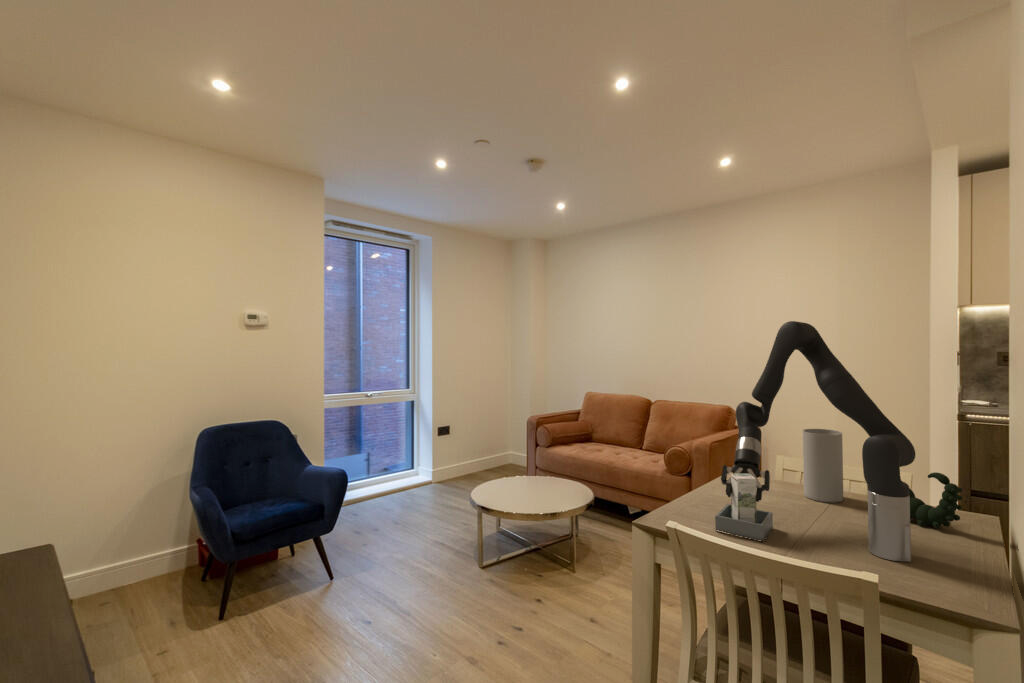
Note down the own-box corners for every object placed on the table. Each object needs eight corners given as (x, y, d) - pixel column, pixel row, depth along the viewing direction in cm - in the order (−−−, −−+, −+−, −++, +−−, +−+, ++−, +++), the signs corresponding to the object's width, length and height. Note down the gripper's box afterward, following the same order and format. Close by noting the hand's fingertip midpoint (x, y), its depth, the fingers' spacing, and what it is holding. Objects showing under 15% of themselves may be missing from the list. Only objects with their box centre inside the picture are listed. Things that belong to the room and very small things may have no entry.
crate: (772, 528, 152) (772, 512, 152) (763, 542, 142) (763, 525, 142) (727, 518, 161) (727, 503, 161) (715, 531, 150) (715, 515, 150)
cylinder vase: (796, 494, 184) (794, 430, 184) (820, 491, 188) (819, 427, 188) (826, 505, 172) (824, 435, 172) (851, 501, 176) (850, 433, 176)
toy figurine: (965, 538, 146) (882, 504, 170) (971, 478, 145) (886, 452, 169) (943, 542, 144) (862, 507, 168) (949, 480, 142) (866, 454, 166)
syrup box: (749, 517, 154) (748, 472, 154) (757, 524, 148) (756, 478, 148) (731, 517, 155) (730, 472, 155) (738, 524, 149) (737, 477, 149)
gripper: (723, 445, 162) (716, 488, 152) (771, 450, 154) (767, 496, 144) (726, 457, 166) (720, 500, 156) (773, 462, 158) (769, 508, 149)
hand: (743, 498), depth 150 cm, fingers closed on syrup box, 7 cm apart
